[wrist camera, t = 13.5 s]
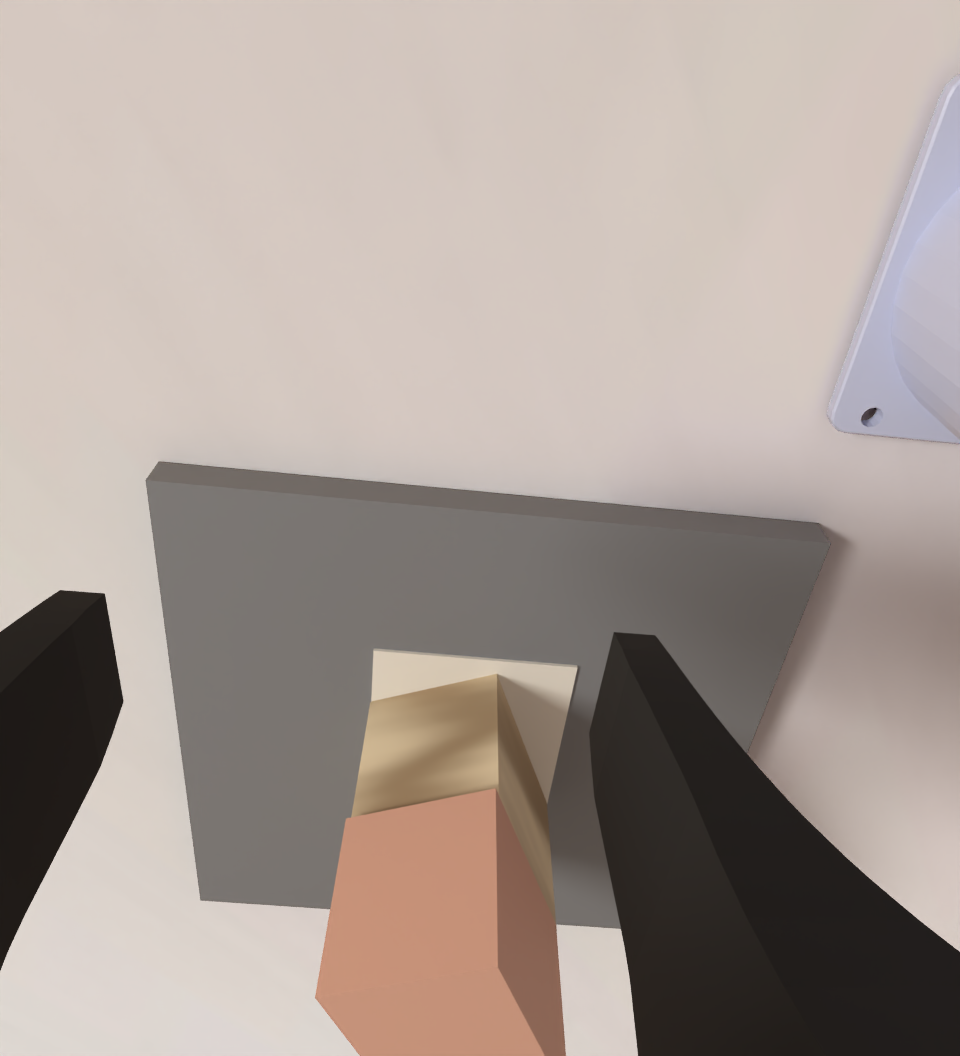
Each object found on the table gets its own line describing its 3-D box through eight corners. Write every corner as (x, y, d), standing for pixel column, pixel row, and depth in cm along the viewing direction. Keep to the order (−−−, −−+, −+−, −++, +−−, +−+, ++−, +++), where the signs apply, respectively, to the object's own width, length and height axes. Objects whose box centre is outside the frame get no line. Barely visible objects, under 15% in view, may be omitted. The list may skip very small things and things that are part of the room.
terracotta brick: (495, 788, 20) (497, 967, 17) (555, 923, 24) (569, 1101, 20) (345, 818, 21) (315, 997, 17) (423, 946, 24) (412, 1122, 20)
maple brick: (496, 673, 24) (498, 797, 21) (546, 802, 27) (556, 931, 24) (370, 701, 25) (349, 826, 21) (433, 824, 28) (424, 952, 24)
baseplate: (818, 523, 23) (832, 545, 22) (670, 908, 32) (676, 934, 32) (158, 461, 22) (144, 482, 21) (208, 876, 32) (199, 903, 31)
